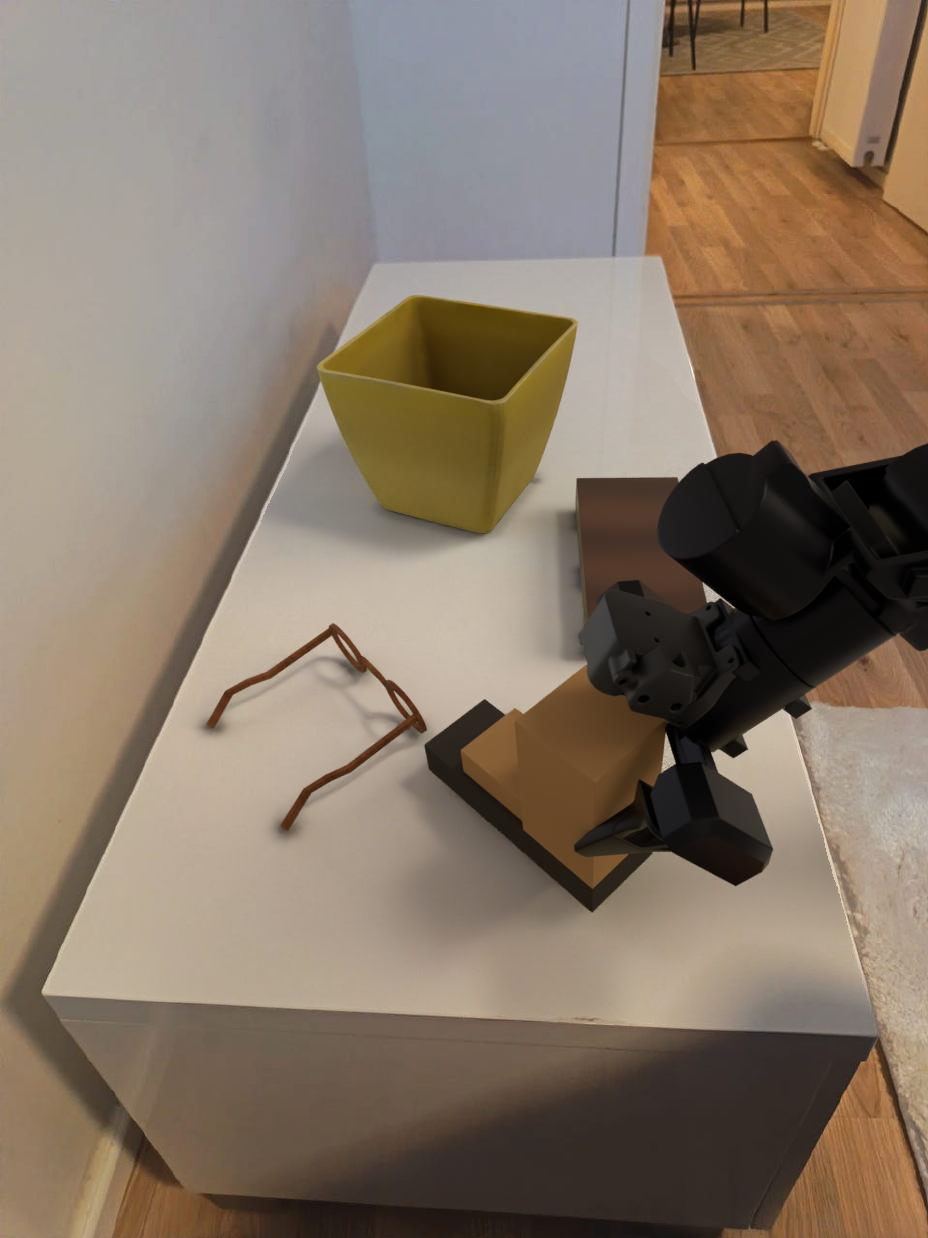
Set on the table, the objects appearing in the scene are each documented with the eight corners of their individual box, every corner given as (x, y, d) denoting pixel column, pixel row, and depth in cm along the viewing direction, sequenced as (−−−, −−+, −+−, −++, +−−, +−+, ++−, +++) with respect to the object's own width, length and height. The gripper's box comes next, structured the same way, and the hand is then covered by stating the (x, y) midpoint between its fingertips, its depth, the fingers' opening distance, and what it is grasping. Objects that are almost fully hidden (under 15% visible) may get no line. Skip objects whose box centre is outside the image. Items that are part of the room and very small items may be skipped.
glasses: (432, 743, 68) (427, 699, 64) (284, 833, 62) (270, 791, 59) (343, 652, 76) (335, 609, 72) (205, 725, 70) (189, 682, 67)
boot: (653, 854, 58) (667, 717, 48) (592, 913, 55) (594, 782, 45) (487, 724, 67) (472, 587, 57) (428, 770, 64) (402, 635, 55)
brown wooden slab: (706, 662, 73) (713, 626, 70) (585, 661, 74) (588, 626, 71) (673, 509, 89) (677, 476, 86) (574, 510, 90) (576, 477, 87)
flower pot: (423, 431, 103) (411, 290, 92) (574, 464, 96) (581, 316, 85) (337, 518, 91) (311, 367, 79) (504, 563, 84) (501, 405, 73)
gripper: (643, 462, 49) (458, 624, 56) (746, 711, 35) (481, 884, 42) (759, 561, 54) (576, 697, 61) (888, 811, 40) (632, 949, 47)
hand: (566, 789), depth 53 cm, fingers closed on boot, 8 cm apart
